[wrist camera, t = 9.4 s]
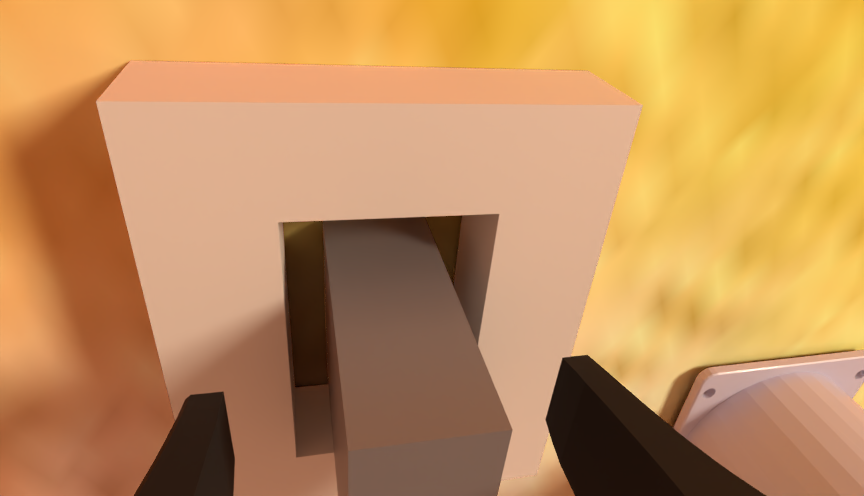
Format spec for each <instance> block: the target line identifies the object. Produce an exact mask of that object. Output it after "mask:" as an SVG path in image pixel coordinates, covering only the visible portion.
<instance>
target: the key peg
mask: <svg viewBox="0 0 864 496" xmlns="http://www.w3.org/2000/svg"><path fill="white" fill-rule="evenodd" d="M323 253H324V287H325V321H326V354H327V376H328V387H329V399H330V411H331V422H332V434H333V446H334V457H335V469H336V481H337V492H338V496H497V495H498V490H499V486H500V482H501V477H502V473H503V469H504V465H505V460H506V456H507V452H508V447H509V443H510V439H511V435H512V430H513V429H512V427H511V424H510V422H509V420H508V417H507V415H506V412H505V410H504V408H503V405H502V403H501V400H500V398H499V395H498V393H497V391H496V388H495V386H494V383H493V381H492V378H491V376H490V374H489V371H488V369H487V366H486V364H485V362H484V359H483V357H482V354H481V352H480V349H479V347H478V345H477V342H476V340H475V337H474V335H473V333H472V330H471V328H470V325H469V323H468V320H467V318H466V316H465V313H464V311H463V308H462V306H461V303H460V301H459V299H458V296H457V294H456V291H455V289H454V287H453V284H452V282H451V279H450V277H449V274H448V272H447V270H446V267H445V265H444V262H443V260H442V257H441V255H440V253H439V250H438V248H437V245H436V243H435V241H434V238H433V236H432V233H431V231H430V228H429V226H428V224H427V221H426V219H425V217H405V218H379V219H354V220H328V221H323Z"/></svg>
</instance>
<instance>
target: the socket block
mask: <svg viewBox="0 0 864 496" xmlns="http://www.w3.org/2000/svg"><path fill="white" fill-rule="evenodd" d="M96 104H97V108H98V112H99V116H100V120H101V124H102V128H103V132H104V137H105V141H106V145H107V149H108V153H109V157H110V161H111V165H112V169H113V173H114V177H115V181H116V185H117V189H118V193H119V197H120V201H121V205H122V209H123V213H124V218H125V222H126V226H127V230H128V234H129V238H130V242H131V246H132V250H133V254H134V258H135V262H136V266H137V270H138V274H139V278H140V282H141V286H142V290H143V294H144V299H145V303H146V307H147V311H148V315H149V319H150V323H151V327H152V331H153V335H154V339H155V343H156V347H157V351H158V355H159V359H160V363H161V367H162V371H163V375H164V380H165V384H166V388H167V392H168V396H169V400H170V404H171V408H172V412H173V416H174V420H176V418H177V416H178V414H179V412H180V410H181V408H182V405H183V403H184V401H185V399H186V398H187V397H189V396H190V395H193V394H203V393H213V392H223V391H224V397H225V403H226V409H227V415H228V421H229V427H230V432H231V438H232V444H233V450H234V456H235V471H234V494H233V496H338V492H337V481H336V469H335V457H334V446H333V434H332V422H331V411H330V399H329V387H328V384H325V385H316V386H306V387H296V388H295V382H294V368H293V355H292V341H291V327H290V314H289V300H288V287H287V273H286V259H285V246H284V232H283V222H302V221H328V220H354V219H379V218H405V217H431V216H456V215H462V221H461V229H460V237H459V245H458V253H457V261H456V269H455V277H454V285H453V287H454V289H455V291H456V294H457V296H458V299H459V301H460V303H461V306H462V308H463V311H464V313H465V316H466V318H467V320H468V323H469V325H470V328H471V330H472V333H473V335H474V337H475V340H476V342H477V345H478V347H479V349H480V352H481V354H482V357H483V359H484V362H485V364H486V366H487V369H488V371H489V374H490V376H491V378H492V381H493V383H494V386H495V388H496V391H497V393H498V395H499V398H500V400H501V403H502V405H503V408H504V410H505V412H506V415H507V417H508V420H509V422H510V424H511V427H512V429H513V430H512V435H511V439H510V443H509V447H508V452H507V456H506V460H505V465H504V469H503V473H502V477H501V481H502V480H508V479H515V478H521V477H528V476H535V475H537V472H538V469H539V465H540V462H541V458H542V455H543V451H544V448H545V444H546V441H547V437H548V434H549V430H548V427H547V423H546V420H545V419H546V416H547V412H548V408H549V405H550V401H551V397H552V394H553V390H554V386H555V383H556V379H557V376H558V372H559V368H560V365H561V361H562V358H564V357H571V354H572V350H573V347H574V343H575V340H576V336H577V333H578V329H579V326H580V322H581V319H582V315H583V312H584V308H585V305H586V301H587V298H588V294H589V291H590V287H591V284H592V280H593V277H594V273H595V270H596V266H597V263H598V260H599V256H600V253H601V249H602V246H603V242H604V239H605V235H606V232H607V228H608V225H609V221H610V218H611V214H612V211H613V207H614V204H615V200H616V197H617V193H618V190H619V186H620V183H621V179H622V176H623V172H624V169H625V165H626V162H627V158H628V155H629V151H630V148H631V144H632V141H633V137H634V134H635V130H636V127H637V123H638V120H639V116H640V113H641V110H642V106H643V105H641V104H640V103H638V102H637V101H635V100H634V99H632V98H630V97H629V96H627V95H626V94H624V93H622V92H621V91H619V90H618V89H616V88H615V87H613V86H611V85H610V84H608V83H607V82H605V81H603V80H602V79H600V78H599V77H597V76H596V75H594V74H592V73H591V72H589V71H576V70H531V69H486V68H440V67H395V66H350V65H305V64H260V63H215V62H169V61H130V62H129V63H128V64H127V65H126V66H125V68H124V69H123V70H122V71H121V72H120V73H119V75H118V76H117V77H116V78H115V79H114V81H113V82H112V83H111V84H110V85H109V86H108V88H107V89H106V90H105V91H104V92H103V94H102V95H101V96H100V97H99V98H98V99H97V101H96Z"/></svg>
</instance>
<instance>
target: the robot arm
mask: <svg viewBox="0 0 864 496" xmlns="http://www.w3.org/2000/svg"><path fill="white" fill-rule="evenodd" d="M863 382H864V350H857V351H849V352H840V353H831V354H822V355H813V356H805V357H796V358H787V359H778V360H770V361H761V362H752V363H743V364H734V365H726V366H717V367H710V368H706V369H705V370H703V371H701V372H700V373H699V374H698V376H697V377H696V379H695V382H694V384H693V386H692V388H691V390H690V392H689V394H688V397H687V399H686V401H685V403H684V405H683V407H682V410H681V412H680V414H679V416H678V418H677V420H676V423H675V425H674V427H673V428H672V427H671V426H670V425H669V424H667V423H666V422H665V421H664V420H663V419H661V418H660V417H659V416H658V415H657V414H655V413H654V412H653V411H652V410H651V409H649V408H648V407H647V406H646V405H645V404H644V403H642V402H641V401H640V400H639V399H638V398H637V397H635V396H634V395H633V394H632V393H631V392H630V391H628V390H627V389H626V388H625V387H624V386H623V385H622V384H620V383H619V382H618V381H617V380H616V379H615V378H614V377H612V376H611V375H610V374H609V373H608V372H607V371H606V370H604V369H603V368H602V367H601V366H600V365H599V364H597V363H596V362H595V361H594V360H593V359H591V358H590V357H589V356H588V355H584V356H574V357H564V358H562V361H561V365H560V368H559V372H558V376H557V379H556V383H555V386H554V390H553V394H552V397H551V401H550V405H549V408H548V412H547V416H546V419H545V420H546V423H547V427H548V430H549V433H550V436H551V439H552V442H553V445H554V448H555V451H556V453H557V456H558V459H559V462H560V464H561V467H562V469H563V471H564V473H565V475H566V477H567V479H568V481H569V484H570V486H571V488H572V490H573V492H574V494H575V496H864V409H863V408H862V407H861V406H860V405H858V404H857V403H856V402H855V401H854V400H853V399H852V398H853V397H854V396H855V394H856V393H857V391H858V390H859V388H860V387H861V385H862V384H863ZM234 471H235V456H234V450H233V444H232V438H231V432H230V427H229V421H228V415H227V409H226V403H225V397H224V391H223V392H213V393H203V394H193V395H190V396H189V397H187V398H186V399H185V401H184V403H183V405H182V408H181V410H180V412H179V414H178V416H177V418H176V420H175V423H174V425H173V427H172V429H171V431H170V433H169V434H168V436H167V438H166V440H165V442H164V444H163V446H162V448H161V449H160V451H159V453H158V455H157V457H156V459H155V460H154V462H153V464H152V466H151V467H150V469H149V471H148V472H147V474H146V476H145V478H144V479H143V481H142V483H141V484H140V486H139V488H138V489H137V491H136V493H135V495H134V496H233V494H234Z"/></svg>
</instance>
